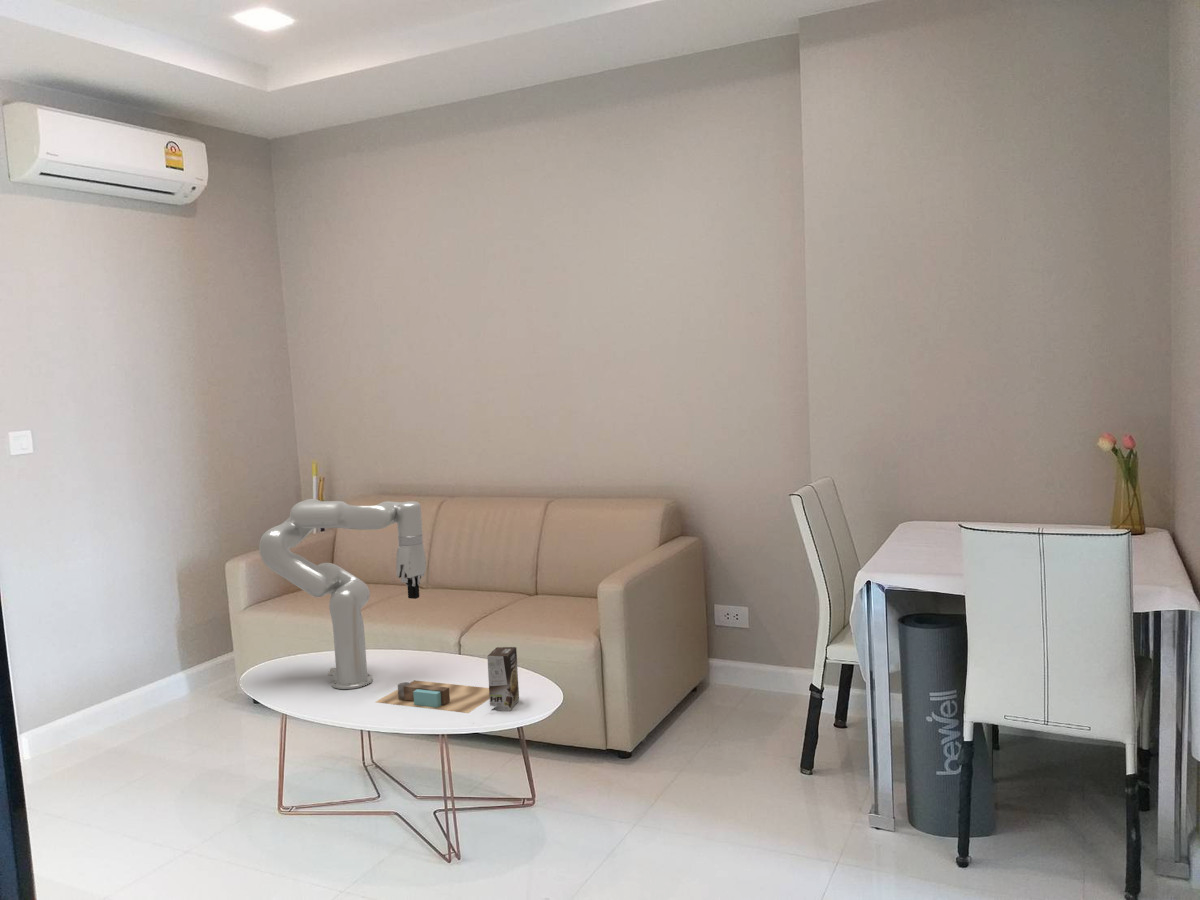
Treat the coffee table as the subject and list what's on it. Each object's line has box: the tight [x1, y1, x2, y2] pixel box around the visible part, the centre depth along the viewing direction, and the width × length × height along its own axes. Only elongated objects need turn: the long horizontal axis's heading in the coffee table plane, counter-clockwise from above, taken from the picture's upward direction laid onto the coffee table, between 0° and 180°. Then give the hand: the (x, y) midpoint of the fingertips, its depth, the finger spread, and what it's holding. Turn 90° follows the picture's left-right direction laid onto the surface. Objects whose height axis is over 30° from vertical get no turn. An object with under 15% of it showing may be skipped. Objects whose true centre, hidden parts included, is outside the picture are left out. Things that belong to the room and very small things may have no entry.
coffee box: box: [487, 646, 520, 712], centre depth 261 cm, size 9×6×16 cm
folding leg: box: [397, 681, 450, 705], centre depth 264 cm, size 17×4×4 cm, turn 66°
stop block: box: [413, 689, 441, 708], centre depth 260 cm, size 8×2×4 cm, turn 67°
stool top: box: [375, 680, 490, 714], centre depth 268 cm, size 32×20×2 cm, turn 67°
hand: (413, 597), depth 286 cm, fingers closed
